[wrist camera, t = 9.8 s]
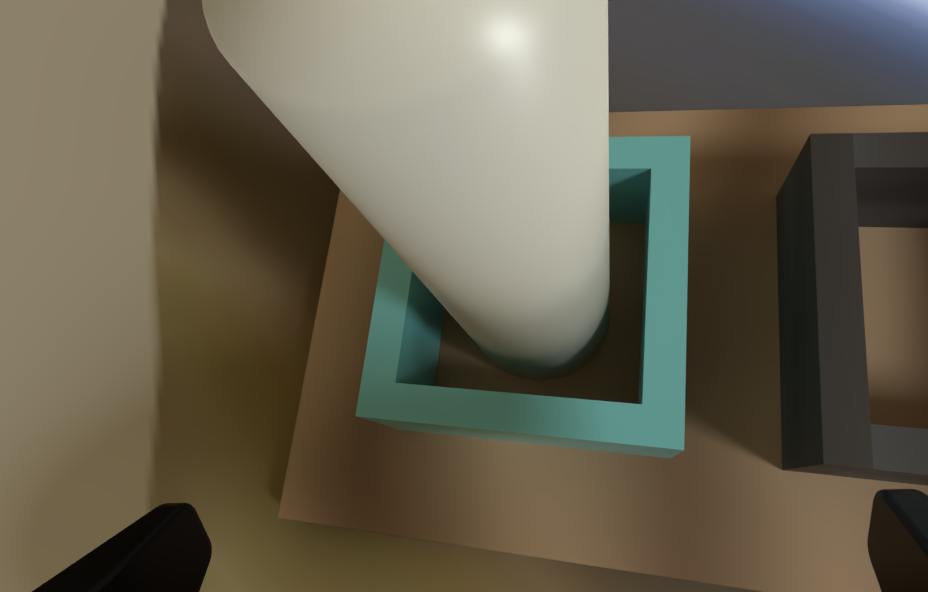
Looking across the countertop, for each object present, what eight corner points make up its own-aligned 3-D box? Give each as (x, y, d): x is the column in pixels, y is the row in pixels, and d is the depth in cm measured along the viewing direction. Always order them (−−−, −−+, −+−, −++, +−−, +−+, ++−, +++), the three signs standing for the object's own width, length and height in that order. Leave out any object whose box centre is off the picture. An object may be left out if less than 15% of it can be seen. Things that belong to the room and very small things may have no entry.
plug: (563, 407, 16) (442, 183, 4) (447, 335, 17) (126, 19, 6) (635, 288, 16) (692, -181, 5) (519, 227, 17) (352, -259, 6)
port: (677, 195, 17) (689, 136, 14) (671, 458, 15) (684, 449, 12) (433, 194, 18) (400, 140, 15) (399, 429, 16) (355, 416, 14)
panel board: (1202, 120, 15) (1393, 0, 11) (1334, 672, 12) (1662, 753, 8) (365, 135, 21) (310, 56, 17) (295, 516, 17) (208, 522, 14)
